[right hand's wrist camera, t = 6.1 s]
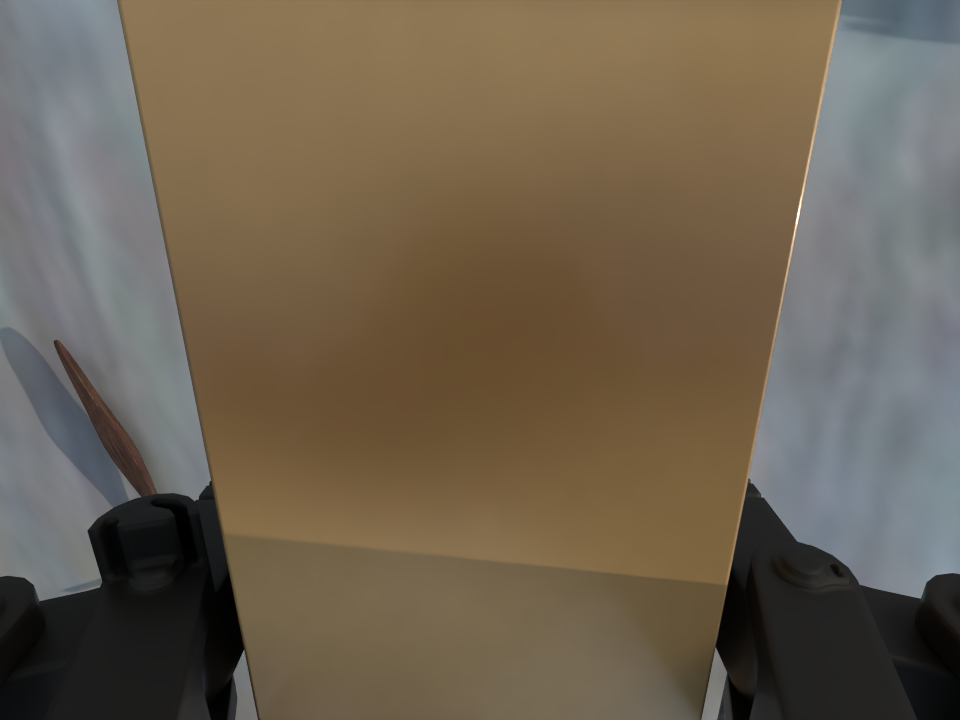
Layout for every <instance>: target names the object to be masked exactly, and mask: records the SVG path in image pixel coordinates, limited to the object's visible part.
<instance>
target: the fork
mask: <svg viewBox="0 0 960 720" xmlns="http://www.w3.org/2000/svg"><path fill="white" fill-rule="evenodd" d="M54 345H55V348H56V350H57V353H58V355H59V357H60V359H61V361H62V363H63V366H64V368H65V370H66V372H67V374H68V376H69V378H70V380H71V382H72V383H73V385H74V387H75V389H76V391H77V393H78V395H79V397H80V399H81V401H82V403H83V405H84V407H85V409H86V411H87V413H88V415H89V417H90V419H91V421H92V423H93V425H94V427H95V429H96V431H97V433H98V435H99V437H100V439H101V441H102V443H103V445H104V447H105V448H106V450H107V452H108V453H109V455H110V456H111V458H112V459H113V461H114V462H115V464H116V465H117V466H118V468H119V469H120V470H121V472H122V473H123V474H124V476H125V477H126V478H127V479H128V481H129V482H130V483H131V484H132V486H133V487H134V488H135V489H136V491H137V492H138V493H139V494H140V496H141V497H145V496H149V495H153V494H158V493H157V491H156V489H155V486H154V484H153V482H152V480H151V477H150V475H149V473H148V470H147V468H146V466H145V464H144V462H143V460H142V458H141V456H140V454H139V452H138V450H137V448H136V446H135V444H134V443H133V441H132V440H131V438H130V437H129V435H128V434H127V432H126V431H125V430H124V428H123V427H122V426H121V424H120V423H119V422H118V420H117V419H116V418H115V416H114V415H113V414H112V412H111V411H110V410H109V408H108V407H107V406H106V404H105V403H104V402H103V400H102V399H101V397H100V396H99V395H98V393H97V392H96V390H95V389H94V387H93V386H92V384H91V383H90V381H89V380H88V379H87V377H86V376H85V374H84V373H83V371H82V370H81V368H80V367H79V366H78V364H77V363H76V361H75V360H74V359H73V357H72V356H71V355H70V353H69V352H68V351H67V349H66V348H65V347H64V346H63V345H62V343H61V342H60V341H58V340H55V341H54Z"/></svg>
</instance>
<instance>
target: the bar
mask: <svg viewBox="0 0 960 720" xmlns="http://www.w3.org/2000/svg"><path fill="white" fill-rule="evenodd" d="M117 3H118V8H119V13H120V18H121V23H122V28H123V33H124V38H125V43H126V49H127V54H128V59H129V64H130V69H131V74H132V79H133V84H134V89H135V94H136V99H137V105H138V110H139V115H140V120H141V125H142V130H143V135H144V140H145V145H146V150H147V156H148V161H149V166H150V171H151V176H152V181H153V186H154V191H155V196H156V201H157V207H158V212H159V217H160V222H161V227H162V232H163V237H164V242H165V247H166V252H167V258H168V263H169V268H170V273H171V278H172V283H173V288H174V293H175V298H176V303H177V309H178V314H179V319H180V324H181V329H182V334H183V339H184V344H185V349H186V354H187V360H188V365H189V370H190V375H191V380H192V385H193V390H194V395H195V400H196V405H197V410H198V416H199V421H200V426H201V431H202V436H203V441H204V446H205V451H206V456H207V461H208V467H209V472H210V477H211V482H212V487H213V492H214V497H215V502H216V507H217V512H218V518H219V523H220V528H221V533H222V538H223V543H224V548H225V553H226V558H227V563H228V569H229V574H230V579H231V584H232V589H233V594H234V599H235V604H236V609H237V614H238V620H239V625H240V630H241V635H242V640H243V645H244V650H245V655H246V660H247V665H248V670H249V676H250V681H251V686H252V691H253V696H254V701H255V706H256V711H257V716H258V720H701V718H702V713H703V708H704V703H705V698H706V693H707V688H708V682H709V677H710V672H711V667H712V662H713V657H714V652H715V647H716V642H717V637H718V631H719V626H720V621H721V616H722V611H723V606H724V601H725V596H726V591H727V585H728V580H729V575H730V570H731V565H732V560H733V555H734V550H735V545H736V540H737V534H738V529H739V524H740V519H741V514H742V509H743V504H744V499H745V494H746V488H747V483H748V478H749V473H750V468H751V463H752V458H753V453H754V448H755V443H756V437H757V432H758V427H759V422H760V417H761V412H762V407H763V402H764V397H765V392H766V386H767V381H768V376H769V371H770V366H771V361H772V356H773V351H774V346H775V340H776V335H777V330H778V325H779V320H780V315H781V310H782V305H783V300H784V295H785V289H786V284H787V279H788V274H789V269H790V264H791V259H792V254H793V249H794V243H795V238H796V233H797V228H798V223H799V218H800V213H801V208H802V203H803V198H804V192H805V187H806V182H807V177H808V172H809V167H810V162H811V157H812V152H813V147H814V141H815V136H816V131H817V126H818V121H819V116H820V111H821V106H822V101H823V95H824V90H825V85H826V80H827V75H828V70H829V65H830V60H831V55H832V50H833V44H834V39H835V34H836V29H837V24H838V19H839V14H840V9H841V4H842V0H117Z"/></svg>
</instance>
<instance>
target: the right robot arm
mask: <svg viewBox="0 0 960 720" xmlns="http://www.w3.org/2000/svg"><path fill="white" fill-rule="evenodd" d="M88 534H89V538H90V541H91V544H92V548H93V551H94V554H95V558H96V561H97V565H98V568H99V571H100V575H101V578H102V581H103V582H102V584H101V586H100V588H96V589H93V590H89V591H85V592H80V593H76V594H71V595H67V596H62V597H57V598H53V599H48V600H44V601H39V599H38V596H37V593H36V590H35V588H34V585H33V584H31V583H30V582H29V581H28V580H26V579H25V578H20V577H13V576H4V577H0V720H235V715H236V706H237V693H236V686H235V681H234V676H233V673H234V671H235V668H236V666H237V664H238V662H239V659H240V657H241V655H242V653H243V651H244V645H243V640H242V635H241V630H240V625H239V620H238V614H237V609H236V604H235V599H234V594H233V589H232V584H231V579H230V574H229V569H228V563H227V558H226V553H225V548H224V543H223V538H222V533H221V528H220V523H219V518H218V512H217V507H216V502H215V497H214V492H213V487H212V482H211V481H210V484H209V486H206V488H205V489H204V490H203V492H202V493H201V494H200V496H199V500H196V501H193V500H192V499H191V498H190V497H188V496H184V495H179V494H175V493H169V494H153V495H149V496H145V497H141V498H136V499H133V500H131V501H128V502H126V503H124V504H121V505H119V506H117V507H114V508H113V509H111V510H110V511H108V512H107V513H105V514H104V515H102V516H101V517H99V518H98V519H97V520H96V521H95V522H94V524H93V525H92V526H91V527H90V528H89V530H88ZM716 648H717V651H718V653H719V655H720V657H721V660H722V662H723V664H724V666H725V668H726V671H727V676H726V681H725V686H724V691H723V695H722V700H721V705H720V710H719V715H718V719H717V720H960V574H954V573H951V574H943V575H936V576H934V577H933V578H932V579H931V580H929V581H928V582H927V583H926V586H925V589H924V592H923V595H922V597H921V599H919V598H914V597H910V596H905V595H901V594H896V593H891V592H887V591H882V590H877V589H873V588H869V587H866V586H862V585H859V583H858V581H857V579H856V578H855V576H854V575H853V574H852V572H851V571H850V569H849V568H848V567H847V566H846V565H844V564H843V563H842V562H840V561H839V560H838V559H837V558H835V557H834V556H833V555H831V554H829V553H826V552H824V551H822V550H820V549H818V548H816V547H814V546H811V545H807V544H803V543H799V542H797V541H796V540H795V538H794V537H793V536H792V534H791V533H790V532H789V530H788V529H787V528H786V526H785V525H784V524H783V522H782V521H781V520H780V519H779V517H778V516H777V515H776V513H775V512H774V511H773V509H772V508H771V507H770V505H769V504H768V503H767V501H766V500H765V499H764V498H761V494H760V492H759V491H758V490H757V488H756V487H755V486H754V484H751V483H750V479H749V478H748V483H747V488H746V494H745V499H744V504H743V509H742V514H741V519H740V524H739V529H738V534H737V540H736V545H735V550H734V555H733V560H732V565H731V570H730V575H729V580H728V585H727V591H726V596H725V601H724V606H723V611H722V616H721V621H720V626H719V631H718V637H717V642H716Z"/></svg>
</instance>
